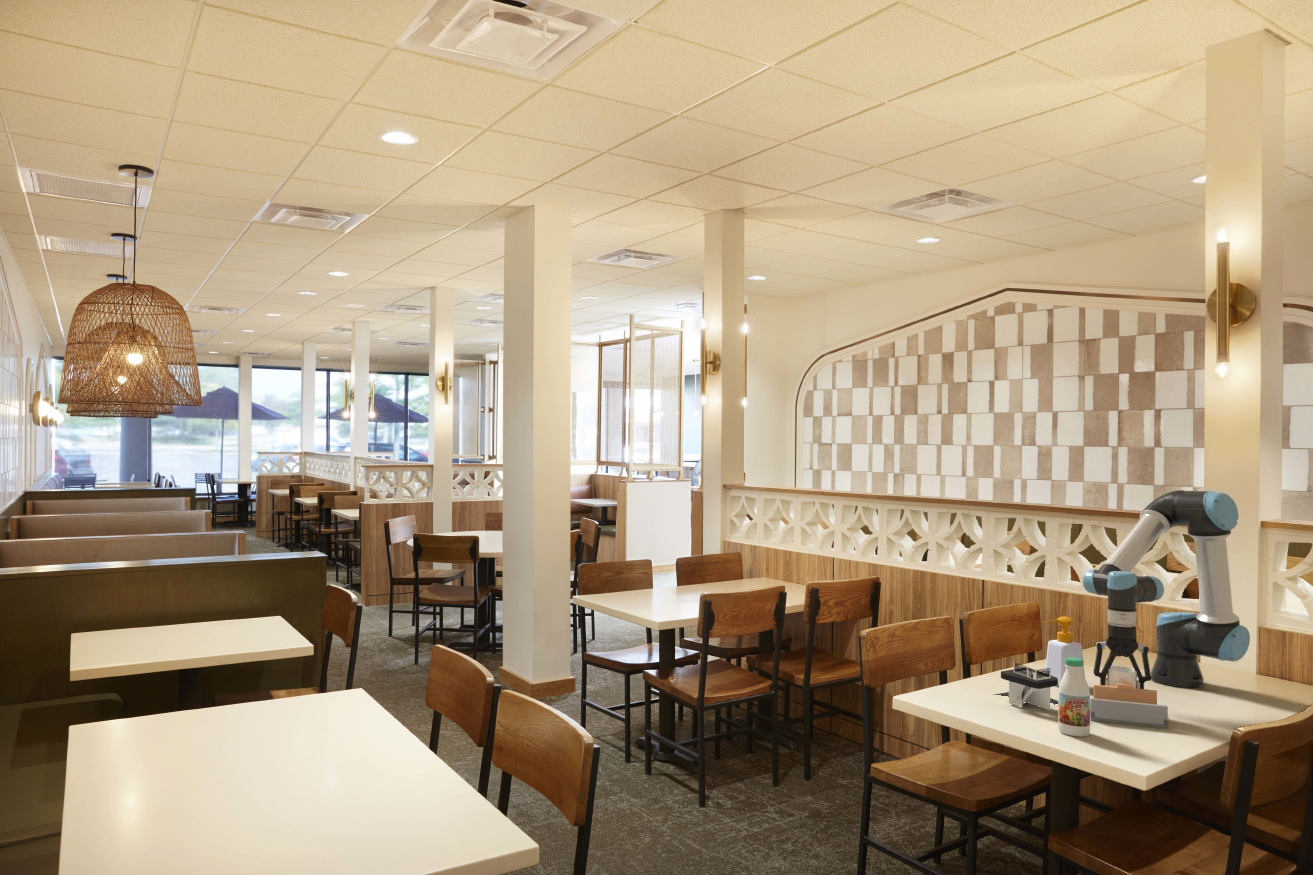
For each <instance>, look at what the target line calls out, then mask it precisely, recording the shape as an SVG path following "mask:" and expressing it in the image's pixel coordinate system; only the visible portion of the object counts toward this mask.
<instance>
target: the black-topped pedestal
mask: <svg viewBox="0 0 1313 875" xmlns="http://www.w3.org/2000/svg"><path fill="white" fill-rule="evenodd" d="M1046 669H1049V670H1046V671H1045V668H1042V669H1041V668H1040V669H1037V668H1036V669H1033V668H1031V667H1029V666H1028V665H1023V664H1020V663H1017V662H1015V661H1013V668H1012V669H1008V670H1001V671H1000V678H1001V679H1003V680H1005V681H1008V691H1007V692H1001V693H995V694H993V695H1001V696H1008V697H1009V701H1008V705H1009V704H1011V705H1010V706H1012V705H1016V706H1021V707H1023V705H1024V704H1025V703H1024V702H1029V703H1032V704H1034V705H1033V706H1035V705H1037V706H1036V707H1038V706H1040V707H1039V708H1041V707H1042V709H1044V708H1045V709H1044V710H1047V711H1049V710H1050V711H1051V706H1050V703H1053V704H1054V705H1055V704H1058V700H1057V699H1054V698H1052V697H1051V688H1053V687H1059V686H1058V678H1057V677H1054V676H1051V667H1049V668H1046ZM1029 703H1028V704H1029ZM1032 704H1031V705H1032ZM1016 706H1015V707H1016ZM1021 707H1020V708H1021ZM1023 708H1024V707H1023Z"/></svg>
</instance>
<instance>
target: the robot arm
mask: <svg viewBox="0 0 1313 875" xmlns="http://www.w3.org/2000/svg"><path fill="white" fill-rule="evenodd" d="M1238 520H1239V510H1238V506H1237V504H1236V502H1235V501H1234V499H1233V497H1231V496H1230V495H1229V494H1227V493H1225V492H1216V491H1213V490H1207V491H1206V490H1183V489H1178V490H1172V491H1168V492H1166V493H1164V494H1162V495H1160V496H1158V497H1157V498H1155V499H1154V500H1153V501H1151V502H1150V503H1149V504H1147V506H1145V507H1144V509H1143V510H1142V511H1141V512H1140V513H1139V520H1138V521H1137V522H1136V523H1135V524H1134V526H1133V528H1132V529H1131V530H1130V531H1129V532H1128V533H1127V534H1126V536H1125V537H1124V538H1123V540H1122V541H1121V542H1120V543H1119V544H1118V546H1117V547H1116V548H1115V549H1114V550H1113V551H1112V553H1111V554H1110V555H1109V557H1108V558H1107V559H1106V560H1105V561H1104V562H1103V564H1102V565H1101V566H1100V567H1099V569H1089V570H1087V571H1086V572H1085V573H1084V574H1083V577H1082V587H1083V588H1084V589H1085V591H1086V592H1087V593H1089V594H1093V595H1096V596H1104V597H1107V622H1108V624H1107V638H1106V640H1105V641H1096V642H1095V645H1096V655H1095V659H1094V660H1095V661H1094V667H1093V673H1092V674H1094V676H1095V677H1098V678H1099V681H1100V682H1099V683H1100V684H1099V685H1105V686H1108V679H1107V674H1108V669H1110V667H1111V666H1113V663H1114V661H1115V659H1117V657H1124V658H1128V659H1129V661H1130V663H1131V666H1132V668H1133V669H1134V670H1135V672H1136V671H1137V686H1136V688H1137V689H1145V683H1146V682H1151V680H1152V681H1153V682H1155V683H1157V684H1162V685H1167V686H1171V687H1177V686H1178V688H1190V687H1192V688H1201V687H1204V685H1205V683H1204V682H1205V681H1204V676H1203V673H1202V670H1201V667H1200V664H1199V661H1198V656H1202V657H1207V658H1211V659H1215V660H1220V661H1227V662H1232V663H1233V662H1234V663H1235V662H1238V661H1240V660H1242V659H1243V658H1244V657H1245V655H1246V653H1247V651H1248V649H1249V647H1250V644H1251V636H1250V635H1251V634H1250V631H1249V630H1248V628H1247V627H1246V626H1244V625H1241V624H1240V617H1239V616H1238V615H1237V614H1236V613H1235V612H1234V610H1233V600H1232V587H1231V581H1230V580H1231V578H1230V570H1229V568H1230V566H1229V558H1228V556H1229V555H1228V548H1227V547H1228V546H1227V538H1228V537H1230V535H1231V534H1232V530H1233V529H1235V528H1236V527H1237V525H1238ZM1173 527H1187V535H1188V536H1189V537H1191V538H1192V539H1193V542H1194V551H1195V552H1194V554H1195V562H1196V573H1197V582H1198V592H1199V602H1200V604H1199V605H1200V612H1199V613H1198V614H1197V612H1192V611H1191V612H1189V611H1188V612H1187V611H1173V612H1170V611H1169V612H1162V613H1160V614H1158V615H1157V617H1156V618H1157V619H1156V658H1155V661H1154V663H1153V666H1152V668H1151V669H1150V663H1149V657H1148V654H1149V647H1148V646H1147V645H1145V644H1144V645H1142V644H1139V643H1138V641H1137V627H1136V624H1137V603H1138V604H1139V603H1152V602H1155V601H1159V600H1160V599H1162V597H1163V596H1164V594H1165V586H1164V583H1163V581H1161V580H1160V579H1159V577H1156V576H1153V575H1144V576H1143V575H1137V574H1136V573H1135V572H1132V571H1133V570H1134V569H1135V567H1136V566H1137V565H1138V563H1140V561H1141V560H1142V559H1143V557H1144V556H1145V555H1146V554H1147V552H1149V551H1150V549H1151V548H1152V546H1153V545H1154V544H1155V543H1156V541H1158V539H1159V538H1160V536H1162V535H1163V534H1166V533H1168V532H1169V531H1170V530H1171V528H1173ZM1106 647H1107V648H1108V649H1109V650H1110V651H1109V655H1108V658H1106V660H1105V663H1104V665H1103V668H1102V670H1101V672H1100V669H1101V665H1102V659H1103V658H1102V656H1103V650H1105V648H1106ZM1137 649H1139V650H1138V651H1139V653H1140V654H1141V660H1142V665H1143V670H1144V675H1143V674H1142V672H1141V670H1140V667H1139V665H1138V663H1137V661H1136V659H1135V656H1134V653H1135V652H1136V651H1137Z"/></svg>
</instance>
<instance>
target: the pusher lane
mask: <svg viewBox="0 0 1313 875" xmlns="http://www.w3.org/2000/svg"><path fill="white" fill-rule="evenodd" d="M1168 714H1169V708H1168V705H1164V704H1157V705H1156V704H1146V703H1136V702H1126V701H1116V700H1106V699H1096V698H1094V697H1090V722H1091V721H1092V722H1101V723H1111V724H1119V725H1128V726H1135V727H1136V726H1139V727H1146V728H1157V729H1164V728H1167V729H1169V715H1168ZM1167 729H1166V730H1167Z"/></svg>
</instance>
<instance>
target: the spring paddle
mask: <svg viewBox="0 0 1313 875" xmlns="http://www.w3.org/2000/svg"><path fill="white" fill-rule="evenodd" d="M1116 686H1117V687H1115V686H1105V685H1100V684H1093V698H1096V699H1106V700H1116V701H1126V702H1136V703H1146V704H1156V705H1158V691H1157V690H1155V689H1146V688H1144V689H1137V688H1134V686H1133V684H1132V683H1124V682H1116Z"/></svg>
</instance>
